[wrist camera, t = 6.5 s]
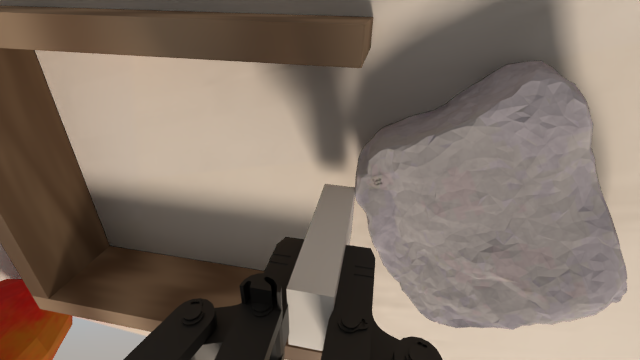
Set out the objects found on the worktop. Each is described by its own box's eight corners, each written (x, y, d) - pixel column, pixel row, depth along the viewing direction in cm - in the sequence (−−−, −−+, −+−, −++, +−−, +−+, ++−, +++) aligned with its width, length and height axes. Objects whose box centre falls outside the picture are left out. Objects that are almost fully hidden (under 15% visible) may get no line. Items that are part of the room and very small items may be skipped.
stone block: (424, 276, 22) (614, 259, 17) (414, 339, 18) (653, 343, 13) (346, 124, 18) (554, 37, 13) (312, 164, 15) (586, 65, 9)
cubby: (373, 17, 14) (364, 24, 9) (348, 297, 22) (337, 369, 18) (-3, 5, 17) (-140, 7, 12) (100, 255, 25) (39, 308, 21)
